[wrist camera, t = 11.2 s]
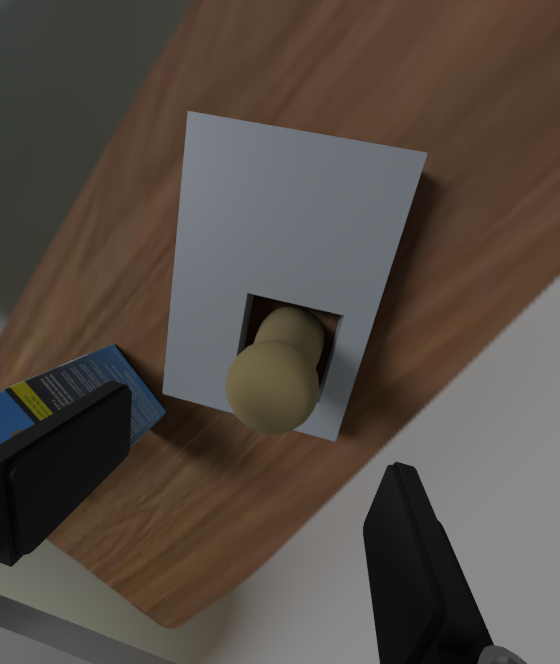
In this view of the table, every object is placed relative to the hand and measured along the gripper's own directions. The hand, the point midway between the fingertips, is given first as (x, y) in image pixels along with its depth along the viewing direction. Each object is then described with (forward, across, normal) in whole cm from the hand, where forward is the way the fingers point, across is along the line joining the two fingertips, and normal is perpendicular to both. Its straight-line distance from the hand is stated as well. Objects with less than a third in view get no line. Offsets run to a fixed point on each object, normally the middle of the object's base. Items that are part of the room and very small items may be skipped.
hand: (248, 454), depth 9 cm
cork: (+15, 0, 0) cm, 15 cm away
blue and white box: (+15, +16, +10) cm, 24 cm away
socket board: (+15, +2, -3) cm, 16 cm away
